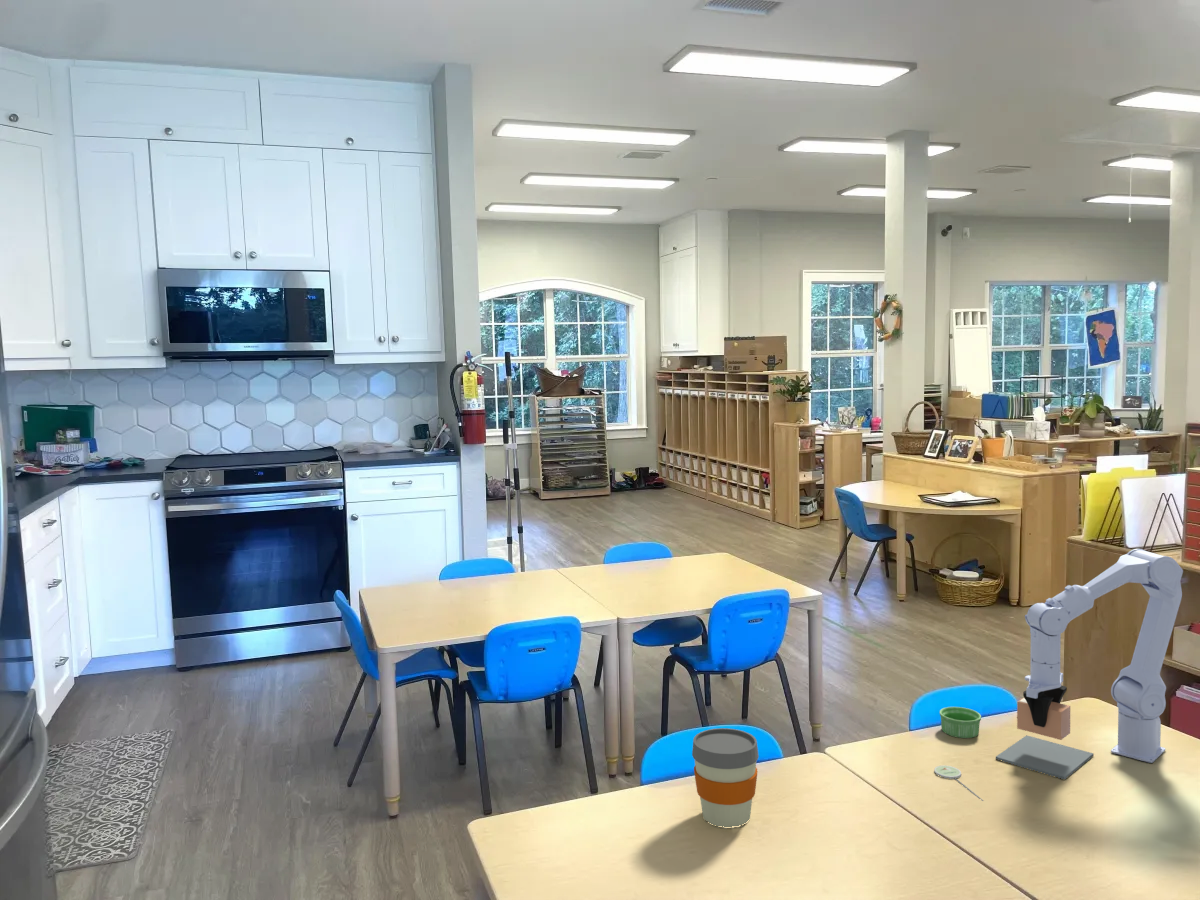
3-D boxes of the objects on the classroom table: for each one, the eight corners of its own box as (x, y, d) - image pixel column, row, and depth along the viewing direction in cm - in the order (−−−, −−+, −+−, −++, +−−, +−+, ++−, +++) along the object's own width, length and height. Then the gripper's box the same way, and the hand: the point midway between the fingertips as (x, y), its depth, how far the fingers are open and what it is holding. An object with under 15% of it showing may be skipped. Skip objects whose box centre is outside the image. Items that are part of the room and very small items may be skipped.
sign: (970, 800, 169) (929, 766, 184) (970, 805, 169) (929, 770, 184) (995, 798, 170) (952, 764, 184) (995, 802, 170) (952, 768, 184)
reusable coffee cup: (758, 836, 159) (757, 756, 158) (690, 830, 161) (688, 752, 160) (760, 803, 171) (759, 729, 170) (696, 799, 173) (695, 726, 172)
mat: (1026, 737, 198) (1026, 735, 198) (1093, 756, 188) (1093, 753, 187) (995, 759, 187) (995, 756, 187) (1064, 779, 177) (1064, 777, 177)
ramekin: (944, 738, 199) (944, 720, 199) (935, 723, 208) (935, 705, 207) (985, 740, 197) (985, 721, 197) (975, 725, 206) (975, 707, 206)
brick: (1070, 733, 185) (1070, 705, 185) (1061, 740, 182) (1061, 711, 182) (1026, 722, 192) (1026, 695, 192) (1017, 728, 189) (1017, 700, 188)
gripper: (1039, 648, 194) (1039, 708, 195) (1011, 664, 184) (1011, 726, 185) (1073, 655, 188) (1072, 716, 189) (1046, 671, 179) (1046, 735, 180)
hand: (1044, 722), depth 187 cm, fingers closed on brick, 5 cm apart
